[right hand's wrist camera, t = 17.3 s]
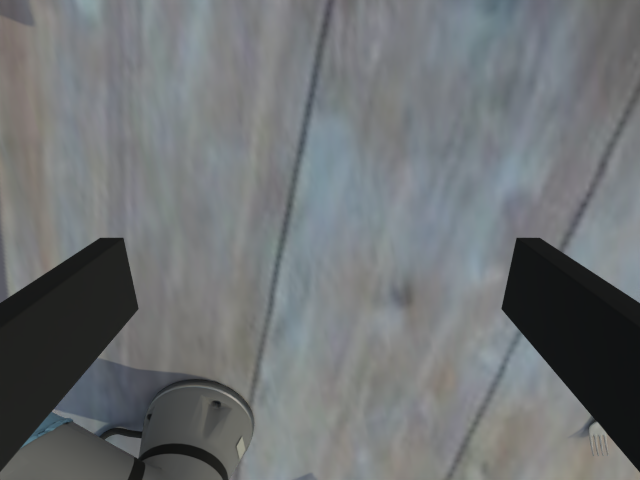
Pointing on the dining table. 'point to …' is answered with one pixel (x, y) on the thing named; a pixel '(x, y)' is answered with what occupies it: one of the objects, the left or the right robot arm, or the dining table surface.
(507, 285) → the right robot arm
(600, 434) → the fork
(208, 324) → the dining table surface
